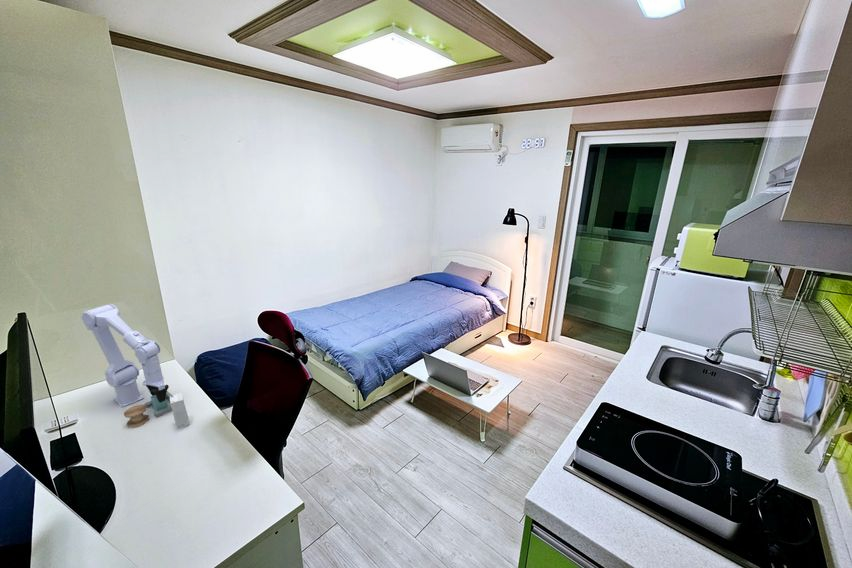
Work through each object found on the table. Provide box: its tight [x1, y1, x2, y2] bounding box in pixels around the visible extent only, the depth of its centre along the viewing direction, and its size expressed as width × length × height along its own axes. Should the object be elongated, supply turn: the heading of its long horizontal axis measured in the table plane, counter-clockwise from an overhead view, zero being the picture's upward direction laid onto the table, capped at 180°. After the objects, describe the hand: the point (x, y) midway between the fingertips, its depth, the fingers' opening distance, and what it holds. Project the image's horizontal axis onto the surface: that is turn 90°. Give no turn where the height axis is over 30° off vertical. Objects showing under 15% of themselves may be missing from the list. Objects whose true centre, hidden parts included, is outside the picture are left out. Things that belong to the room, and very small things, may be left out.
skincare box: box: [169, 392, 190, 429], centre depth 138 cm, size 6×4×12 cm
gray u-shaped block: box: [144, 390, 174, 418], centre depth 148 cm, size 12×9×3 cm
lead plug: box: [150, 395, 169, 412], centre depth 147 cm, size 4×4×7 cm
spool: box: [123, 404, 150, 428], centre depth 139 cm, size 7×7×6 cm
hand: (158, 397), depth 147 cm, fingers open, 7 cm apart
